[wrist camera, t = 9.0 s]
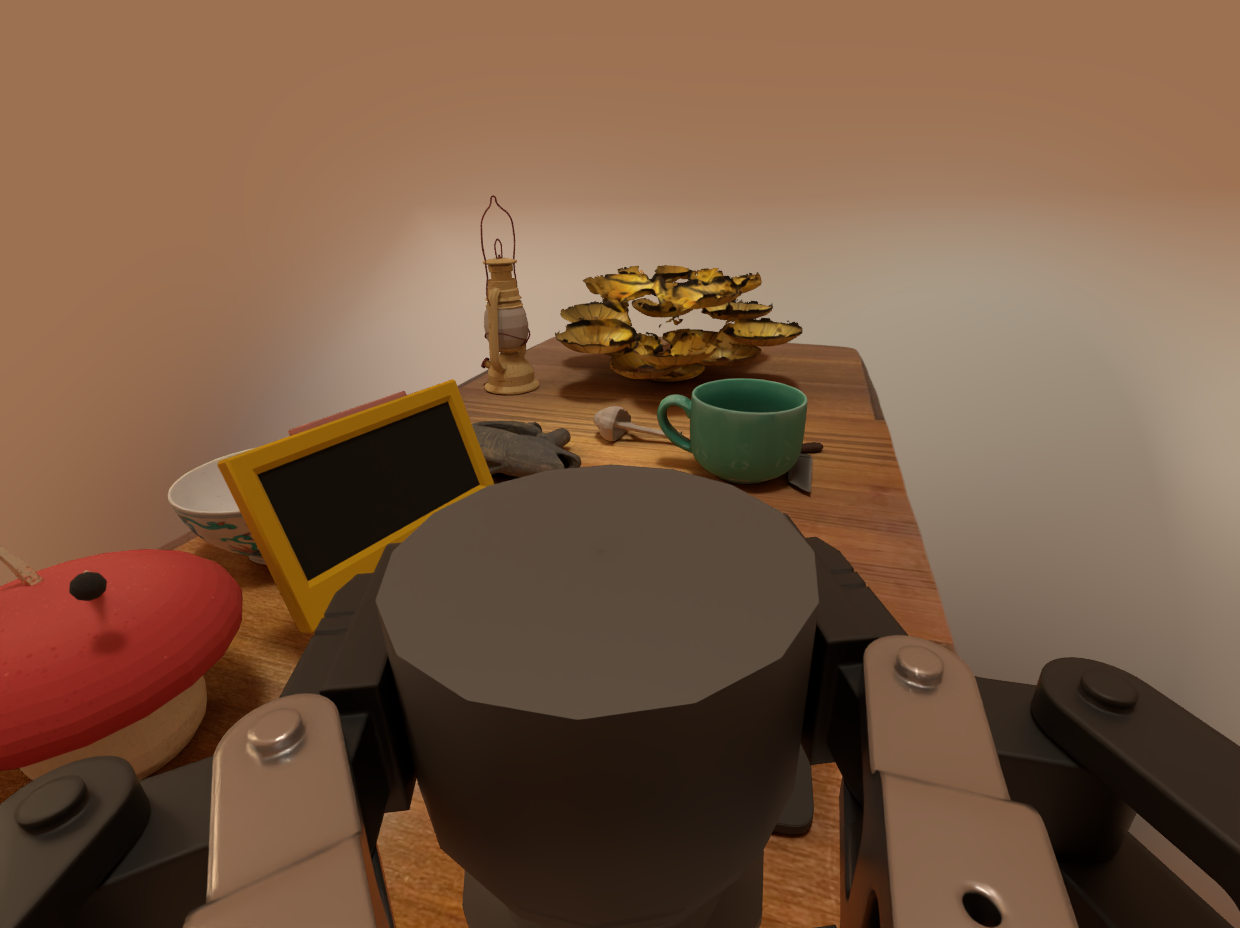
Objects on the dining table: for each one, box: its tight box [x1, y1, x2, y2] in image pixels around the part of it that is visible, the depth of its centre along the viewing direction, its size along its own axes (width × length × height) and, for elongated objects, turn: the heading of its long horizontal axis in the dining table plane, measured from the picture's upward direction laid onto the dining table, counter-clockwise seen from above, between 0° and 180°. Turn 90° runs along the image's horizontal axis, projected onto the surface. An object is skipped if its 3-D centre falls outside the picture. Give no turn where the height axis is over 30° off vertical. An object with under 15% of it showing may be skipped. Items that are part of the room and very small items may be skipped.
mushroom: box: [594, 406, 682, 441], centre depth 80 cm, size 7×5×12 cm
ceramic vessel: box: [472, 421, 581, 478], centre depth 75 cm, size 5×25×15 cm
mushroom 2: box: [0, 546, 243, 781], centre depth 34 cm, size 16×16×15 cm
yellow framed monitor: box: [217, 379, 494, 633], centre depth 49 cm, size 20×8×16 cm, turn 149°
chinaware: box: [168, 448, 266, 564], centre depth 56 cm, size 15×15×8 cm
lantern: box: [481, 196, 539, 395], centre depth 98 cm, size 12×10×30 cm
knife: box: [788, 442, 823, 493], centre depth 71 cm, size 14×4×1 cm, turn 163°
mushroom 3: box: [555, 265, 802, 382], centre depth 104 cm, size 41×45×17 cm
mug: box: [657, 378, 807, 484], centre depth 70 cm, size 17×13×10 cm
